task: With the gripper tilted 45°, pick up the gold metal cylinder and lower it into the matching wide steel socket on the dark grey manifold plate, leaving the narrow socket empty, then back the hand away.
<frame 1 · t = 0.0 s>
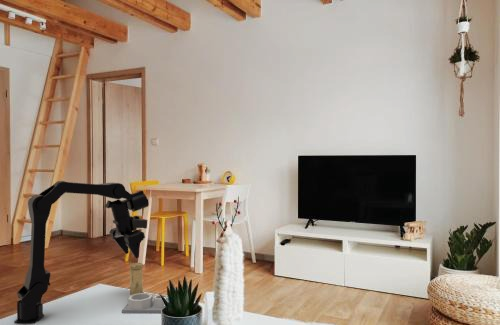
hand: (132, 255, 157), 15 cm above the table, tool pointing down, fingers open, 9 cm apart
gold metal cylinder: (136, 298, 155), on the table
manifold plate: (140, 308, 144), on the table
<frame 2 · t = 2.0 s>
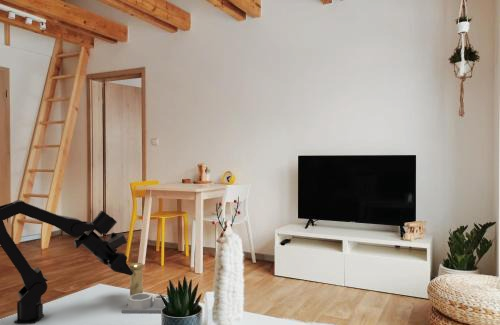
hand: (127, 271, 153), 10 cm above the table, tool tilted 45°, fingers open, 9 cm apart
nothing on the table moved.
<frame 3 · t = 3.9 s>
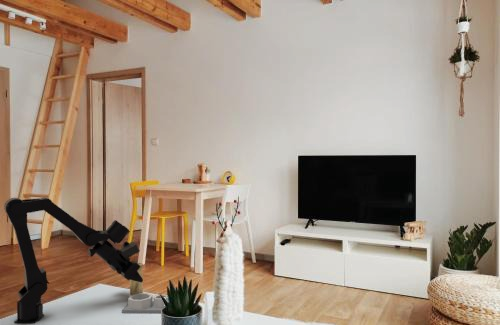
hand: (140, 279, 156), 7 cm above the table, tool tilted 45°, fingers closed on gold metal cylinder, 4 cm apart
gold metal cylinder: (136, 298, 155), on the table, touching gripper
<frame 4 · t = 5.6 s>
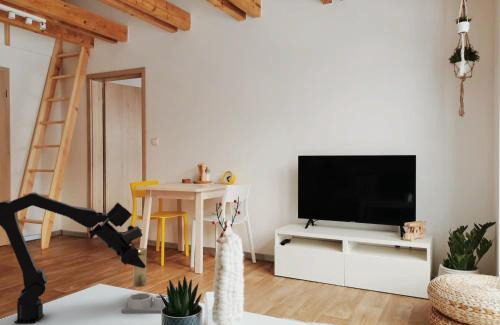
hand: (143, 265, 149), 13 cm above the table, tool tilted 45°, fingers closed on gold metal cylinder, 4 cm apart
gold metal cylinder: (139, 284, 149), point 7 cm above the table, touching gripper
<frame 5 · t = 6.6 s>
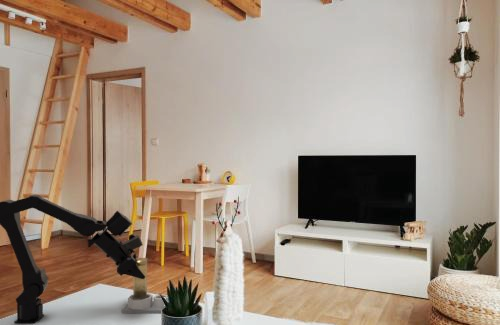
hand: (144, 276, 145), 11 cm above the table, tool tilted 45°, fingers closed on gold metal cylinder, 4 cm apart
gold metal cylinder: (140, 295, 144), point 4 cm above the table, touching gripper
when the fingers open (9 cm above the table, at t = 7.4 s): gold metal cylinder drops 1 cm, resting on manifold plate.
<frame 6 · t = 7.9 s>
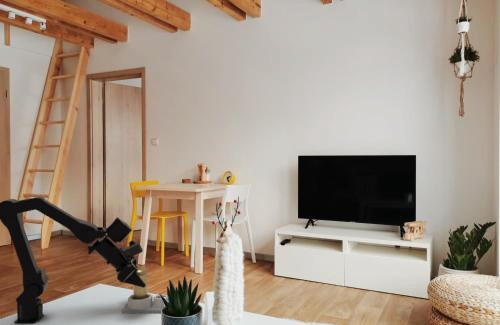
hand: (144, 282, 145), 9 cm above the table, tool tilted 45°, fingers open, 9 cm apart
gold metal cylinder: (140, 305, 144), point 1 cm above the table, touching manifold plate
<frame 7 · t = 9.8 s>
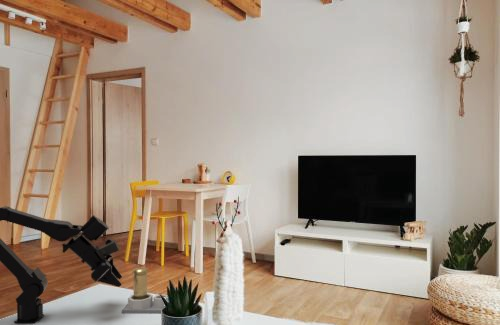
hand: (120, 281, 143), 10 cm above the table, tool tilted 45°, fingers open, 9 cm apart
nothing on the table moved.
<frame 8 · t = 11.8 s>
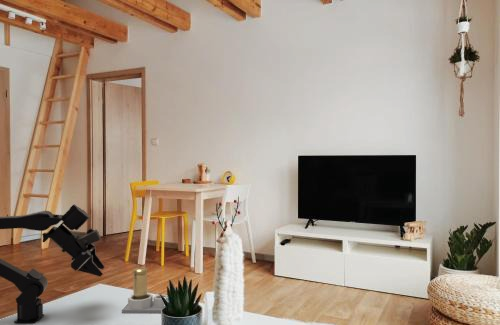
hand: (102, 271, 141), 14 cm above the table, tool tilted 45°, fingers open, 9 cm apart
nothing on the table moved.
at the end: gold metal cylinder 0.1 cm off-centre on the manifold plate, point 1.0 cm above the manifold plate's base; gold metal cylinder tilted 1°; the gripper is holding nothing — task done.
